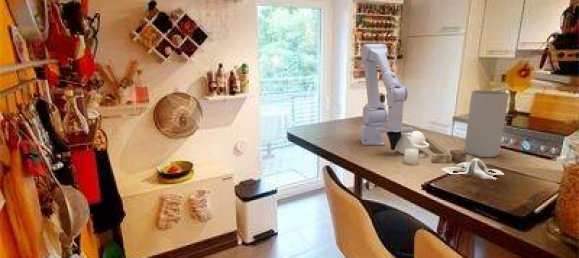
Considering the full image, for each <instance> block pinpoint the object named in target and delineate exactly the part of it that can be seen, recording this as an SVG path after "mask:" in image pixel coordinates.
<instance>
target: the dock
mask: <svg viewBox="0 0 579 258" xmlns="http://www.w3.org/2000/svg"><path fill="white" fill-rule="evenodd" d="M425 139H426V142H427V143H428V144H429V148H428V149H429V150H430V151H431V152H433V153H431V158H430V162H431V163H433V164H434V163H436V164H437V163H439V164H440V163H441V164H443V163H444V164H445V163H446V164H447V163H448V164H449V163H450V164H451V163H452V155H451V154H450V151H447V150H446V149H445V148H443V146H441V145H440V144H438V143H437V142H436V141H434V140H433V139H432V138H430V137H425Z"/></svg>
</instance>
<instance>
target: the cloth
mask: <svg viewBox="0 0 579 258" xmlns="http://www.w3.org/2000/svg"><path fill="white" fill-rule="evenodd" d="M458 166H459V167H458ZM462 167H464V168H462ZM439 170H440V171H441V170H442V171H441V172H443V173H444V172H445V173H444V174H446V173H449V174H469V173H472V174H473V175H475V176H478V177H480V178H482V179H493V180H494V179H495V180H496V179H498V177H493V176H494V175H505V174H504V173H503V172H502V170H499V169H495V168H488V167H487V165H486V164H485V163H484V162H483V161H482V160H481V159H479V158H473V159H471V161H470V162H467V161H466V162H463V163H456V166H448V167H447V166H446V167H442V168H440V169H439ZM489 170H492V171H494V172H496V173H491V172H488V171H489ZM453 171H465V172H458V173H453Z"/></svg>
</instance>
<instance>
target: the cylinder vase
mask: <svg viewBox="0 0 579 258" xmlns="http://www.w3.org/2000/svg"><path fill="white" fill-rule="evenodd" d="M509 96H510V94H509V92H506V91H503V90H501V91H500V90H493V89H492V90H490V89H489V90H488V89H477V90H476V89H475V90H471V96H470V103H469V109H468V110H469V111H468V118H467V127H466V133H465V138H464V139H465V140H464V147H463V149H464V152H466V153H467V154H469V155H472V156H475V157H479V158H480V157H481V158H495V157H498V156H499V155H500V152H501V145H502V140H503V132H504V127H505V120H506V115H507V108H508V102H509Z"/></svg>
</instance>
